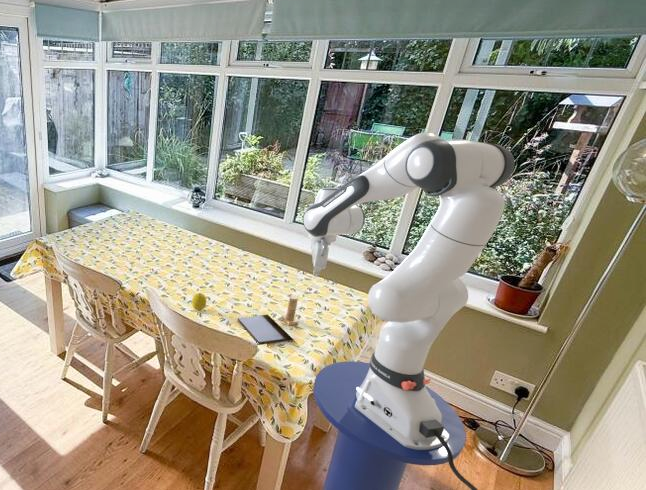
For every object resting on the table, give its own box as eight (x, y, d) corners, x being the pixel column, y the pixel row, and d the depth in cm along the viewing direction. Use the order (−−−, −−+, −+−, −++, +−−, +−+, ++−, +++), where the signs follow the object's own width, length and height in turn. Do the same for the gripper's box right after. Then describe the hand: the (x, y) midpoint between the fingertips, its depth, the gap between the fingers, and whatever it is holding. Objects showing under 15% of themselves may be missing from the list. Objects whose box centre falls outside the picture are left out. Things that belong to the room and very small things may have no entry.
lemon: (191, 313, 162) (192, 295, 159) (191, 305, 167) (193, 288, 164) (205, 314, 161) (207, 297, 158) (205, 307, 166) (207, 290, 163)
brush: (297, 327, 152) (302, 300, 148) (287, 328, 151) (293, 301, 147) (289, 320, 157) (294, 293, 153) (280, 321, 156) (285, 294, 152)
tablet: (308, 338, 148) (308, 335, 148) (258, 345, 143) (259, 342, 143) (283, 315, 162) (283, 312, 162) (237, 320, 158) (237, 317, 157)
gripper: (335, 245, 130) (326, 284, 135) (330, 225, 148) (322, 260, 153) (314, 242, 132) (306, 281, 136) (311, 223, 150) (304, 258, 155)
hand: (314, 270), depth 145 cm, fingers open, 8 cm apart
